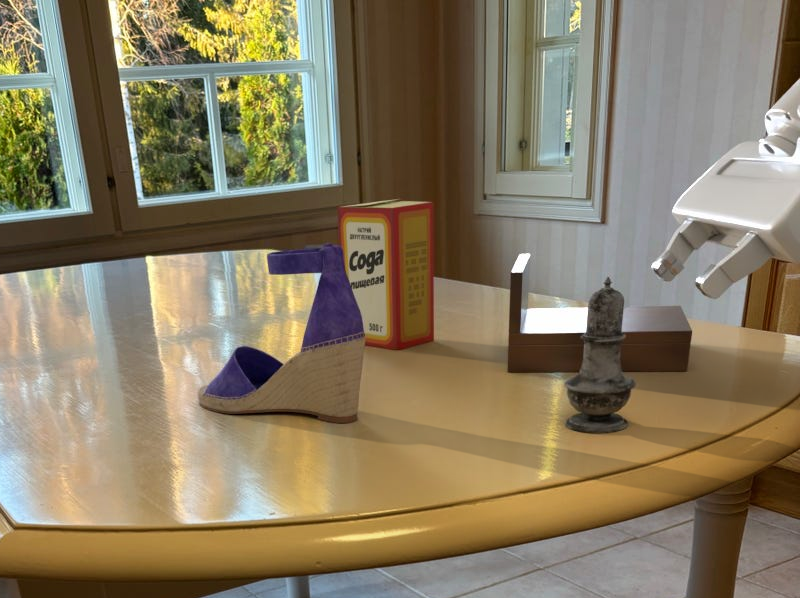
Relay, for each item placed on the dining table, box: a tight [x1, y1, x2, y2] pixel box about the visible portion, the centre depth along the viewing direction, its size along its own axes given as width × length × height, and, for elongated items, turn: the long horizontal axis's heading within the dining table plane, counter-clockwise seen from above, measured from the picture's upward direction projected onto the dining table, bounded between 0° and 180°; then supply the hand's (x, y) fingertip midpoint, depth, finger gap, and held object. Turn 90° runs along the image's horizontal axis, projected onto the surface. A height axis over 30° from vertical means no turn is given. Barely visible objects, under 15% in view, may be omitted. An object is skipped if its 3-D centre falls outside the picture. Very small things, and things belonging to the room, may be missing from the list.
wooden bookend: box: [507, 253, 693, 373], centre depth 100 cm, size 18×14×10 cm
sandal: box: [197, 242, 366, 424], centre depth 87 cm, size 8×20×15 cm, turn 44°
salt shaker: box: [563, 276, 637, 434], centre depth 77 cm, size 6×6×12 cm
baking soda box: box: [336, 198, 435, 351], centre depth 113 cm, size 10×6×16 cm
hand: (679, 283), depth 74 cm, fingers open, 8 cm apart
